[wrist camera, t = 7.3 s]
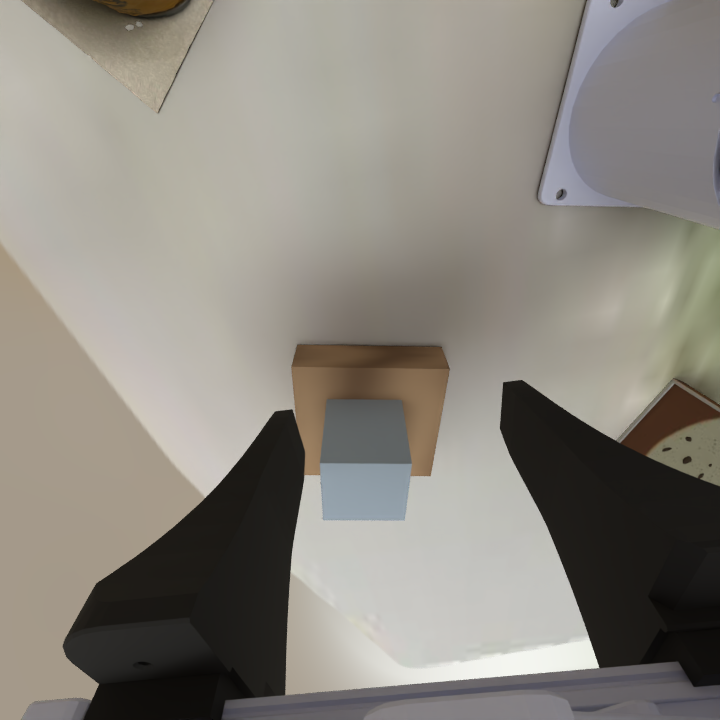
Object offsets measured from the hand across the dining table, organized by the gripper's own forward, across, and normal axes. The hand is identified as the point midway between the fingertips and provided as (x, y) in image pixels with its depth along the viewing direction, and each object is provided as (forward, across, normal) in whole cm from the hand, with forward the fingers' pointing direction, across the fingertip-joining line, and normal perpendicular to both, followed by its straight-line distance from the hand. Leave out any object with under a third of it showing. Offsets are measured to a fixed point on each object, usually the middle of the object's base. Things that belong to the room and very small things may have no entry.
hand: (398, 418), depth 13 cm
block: (+8, +2, +7) cm, 11 cm away
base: (+10, +2, +7) cm, 13 cm away
